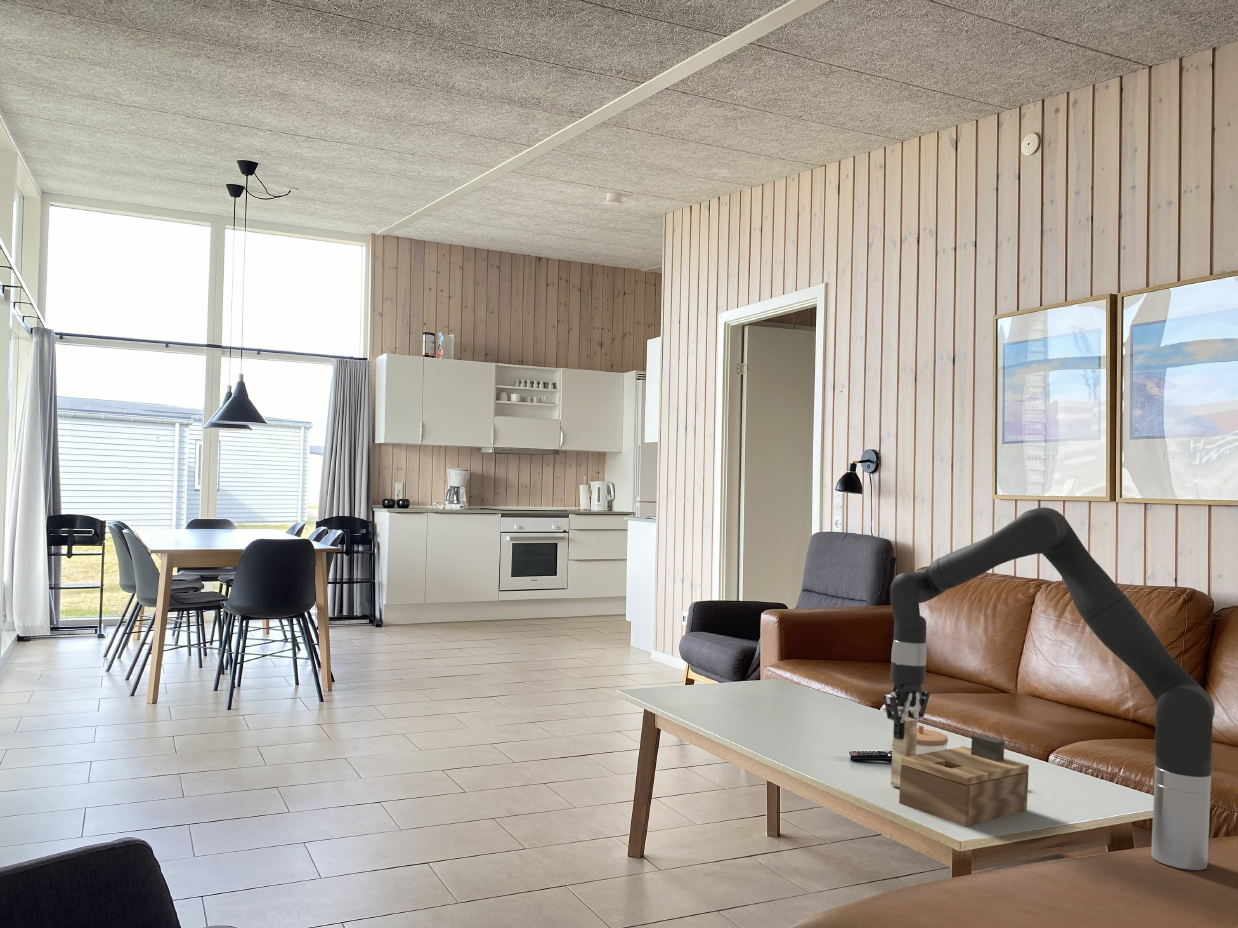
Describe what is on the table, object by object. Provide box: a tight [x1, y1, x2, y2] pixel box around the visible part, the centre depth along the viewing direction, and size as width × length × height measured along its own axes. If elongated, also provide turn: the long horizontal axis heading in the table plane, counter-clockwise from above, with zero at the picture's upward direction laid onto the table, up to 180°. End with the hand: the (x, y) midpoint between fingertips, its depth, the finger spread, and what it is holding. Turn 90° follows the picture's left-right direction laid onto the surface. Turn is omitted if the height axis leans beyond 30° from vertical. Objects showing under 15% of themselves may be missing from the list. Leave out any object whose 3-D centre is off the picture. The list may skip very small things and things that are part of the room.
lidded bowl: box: [916, 724, 949, 755], centre depth 239 cm, size 13×13×11 cm
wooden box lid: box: [901, 734, 1030, 785], centre depth 210 cm, size 22×16×5 cm
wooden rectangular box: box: [898, 765, 1029, 827], centre depth 209 cm, size 22×16×9 cm
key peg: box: [890, 716, 918, 789], centre depth 221 cm, size 4×4×15 cm
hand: (904, 737), depth 221 cm, fingers closed on key peg, 3 cm apart
